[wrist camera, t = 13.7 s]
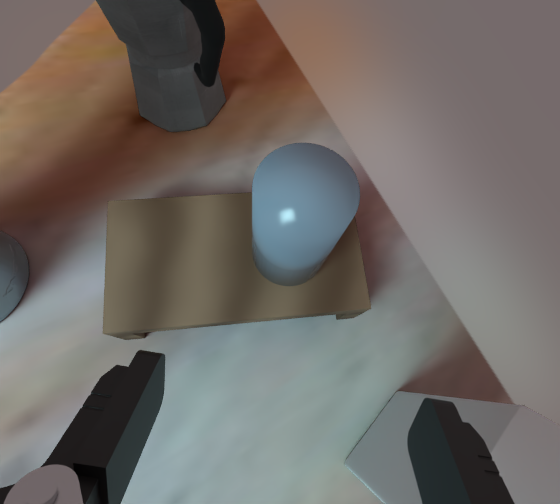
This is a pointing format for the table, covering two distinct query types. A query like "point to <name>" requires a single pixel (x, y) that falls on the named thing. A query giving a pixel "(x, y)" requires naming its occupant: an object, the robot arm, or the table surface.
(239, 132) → the table surface
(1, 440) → the table surface
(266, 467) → the table surface
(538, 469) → the milk carton
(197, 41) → the coffeepot
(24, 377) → the table surface
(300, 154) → the blue dome-topped cylinder
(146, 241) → the shelf
